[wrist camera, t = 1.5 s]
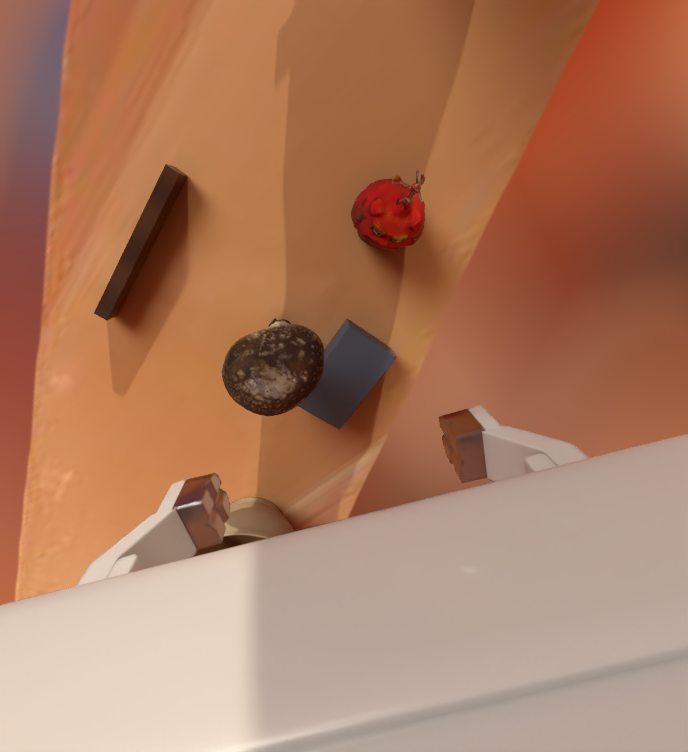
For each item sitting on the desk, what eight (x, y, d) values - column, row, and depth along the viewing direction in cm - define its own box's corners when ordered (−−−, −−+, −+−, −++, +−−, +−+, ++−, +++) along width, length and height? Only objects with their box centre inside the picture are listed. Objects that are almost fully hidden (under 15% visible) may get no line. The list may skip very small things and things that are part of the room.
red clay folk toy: (343, 238, 44) (357, 250, 30) (358, 171, 41) (382, 149, 27) (405, 254, 45) (447, 273, 31) (424, 190, 42) (479, 179, 28)
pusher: (346, 318, 47) (349, 325, 44) (390, 348, 49) (396, 357, 46) (294, 391, 51) (293, 403, 47) (337, 416, 53) (339, 429, 49)
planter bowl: (310, 553, 62) (310, 617, 52) (210, 563, 61) (191, 631, 51) (300, 472, 56) (298, 529, 46) (189, 483, 55) (161, 543, 45)
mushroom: (247, 366, 49) (222, 426, 35) (241, 298, 45) (210, 335, 32) (321, 364, 49) (325, 423, 36) (320, 298, 46) (324, 334, 32)
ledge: (174, 166, 40) (165, 163, 37) (187, 176, 40) (180, 173, 38) (104, 308, 45) (93, 313, 42) (117, 315, 45) (107, 320, 43)
